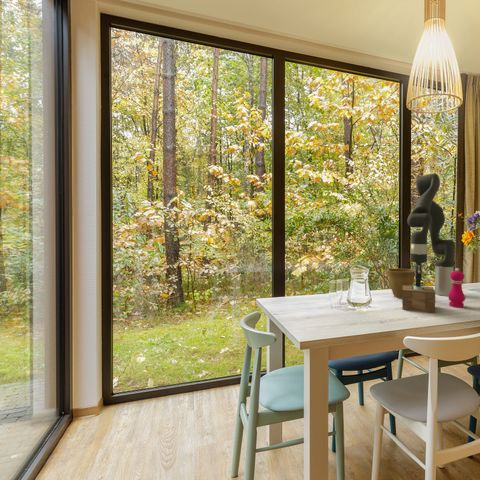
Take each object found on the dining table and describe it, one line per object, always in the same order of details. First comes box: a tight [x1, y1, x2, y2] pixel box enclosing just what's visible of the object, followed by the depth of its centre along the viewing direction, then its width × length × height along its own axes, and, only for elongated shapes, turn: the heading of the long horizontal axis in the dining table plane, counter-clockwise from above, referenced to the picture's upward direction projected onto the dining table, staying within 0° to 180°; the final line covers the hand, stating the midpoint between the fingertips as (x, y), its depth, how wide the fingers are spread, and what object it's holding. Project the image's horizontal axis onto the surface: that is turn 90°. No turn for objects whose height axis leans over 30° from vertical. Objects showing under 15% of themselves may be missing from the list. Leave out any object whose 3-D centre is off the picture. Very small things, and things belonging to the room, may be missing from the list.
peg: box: [413, 285, 423, 290], centre depth 160 cm, size 4×4×9 cm
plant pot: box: [386, 268, 415, 299], centre depth 184 cm, size 15×15×16 cm
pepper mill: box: [447, 267, 466, 309], centre depth 162 cm, size 7×7×20 cm
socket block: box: [401, 285, 436, 314], centre depth 160 cm, size 14×14×10 cm
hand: (418, 286), depth 160 cm, fingers closed
